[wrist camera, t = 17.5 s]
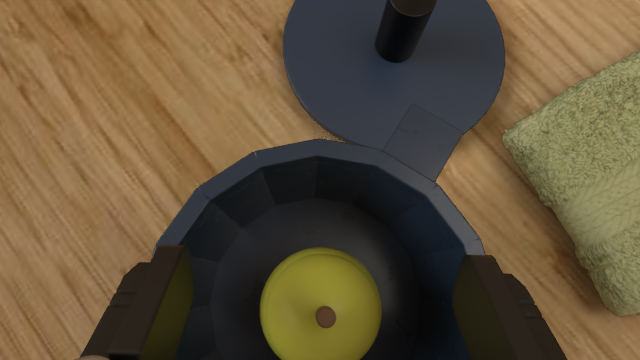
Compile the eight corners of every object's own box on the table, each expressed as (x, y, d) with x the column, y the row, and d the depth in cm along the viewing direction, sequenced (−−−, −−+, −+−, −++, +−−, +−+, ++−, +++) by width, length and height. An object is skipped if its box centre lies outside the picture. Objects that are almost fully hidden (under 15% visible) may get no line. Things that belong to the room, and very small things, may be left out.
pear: (251, 317, 22) (208, 345, 12) (303, 237, 23) (301, 203, 13) (332, 373, 22) (354, 447, 12) (382, 287, 23) (439, 291, 13)
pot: (119, 387, 21) (3, 452, 13) (308, 113, 25) (309, 31, 17) (325, 536, 20) (338, 710, 12) (491, 224, 24) (588, 194, 16)
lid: (241, 83, 26) (223, 28, 20) (355, -69, 29) (366, -153, 23) (432, 200, 24) (470, 176, 19) (532, 28, 27) (589, -37, 22)
